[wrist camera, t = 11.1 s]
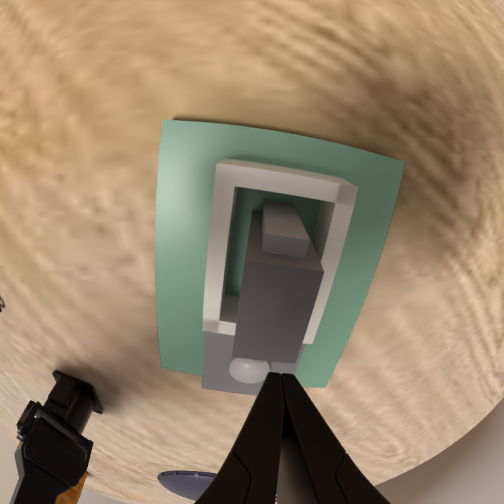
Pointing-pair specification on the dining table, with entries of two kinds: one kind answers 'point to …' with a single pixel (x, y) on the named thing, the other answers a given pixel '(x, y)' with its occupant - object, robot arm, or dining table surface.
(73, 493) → the coffee package
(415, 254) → the dining table surface
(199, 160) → the board
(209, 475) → the toy spaceship
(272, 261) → the plug
